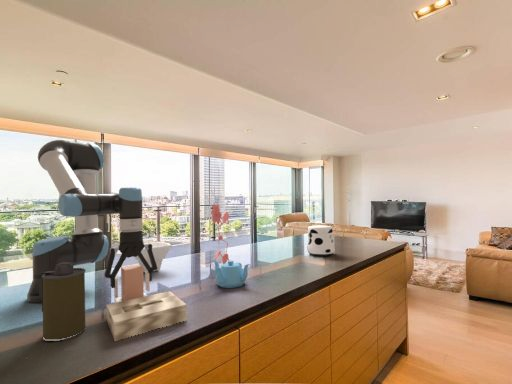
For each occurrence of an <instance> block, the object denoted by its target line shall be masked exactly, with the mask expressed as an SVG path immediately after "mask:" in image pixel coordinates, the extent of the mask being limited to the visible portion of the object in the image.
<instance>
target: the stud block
mask: <svg viewBox="0 0 512 384" xmlns="http://www.w3.org/2000/svg"><path fill="white" fill-rule="evenodd" d="M120 288H121V289H120V291H121V295H120V296H121V298H122V299H123V301H126V300H131V299H136V298H140V297H144V292H145V291H144V272H143V267H142V266H140V265H139V263H136V264H129V265H122V266H121V268H120Z"/></svg>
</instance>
